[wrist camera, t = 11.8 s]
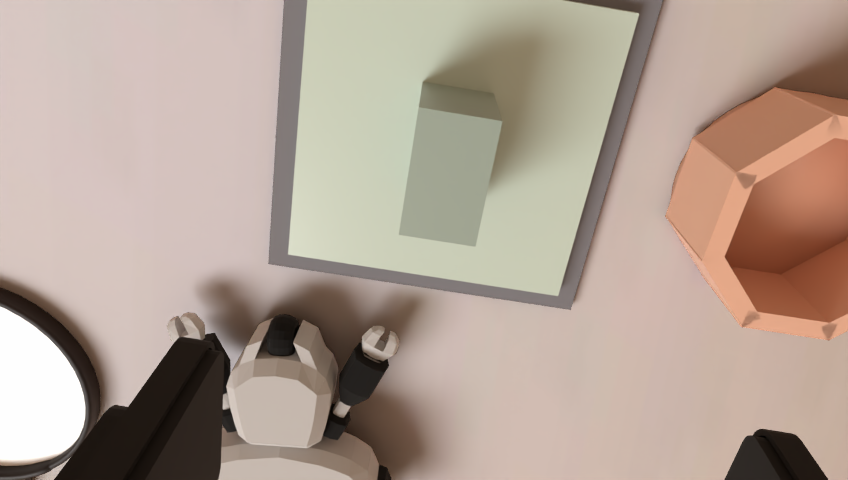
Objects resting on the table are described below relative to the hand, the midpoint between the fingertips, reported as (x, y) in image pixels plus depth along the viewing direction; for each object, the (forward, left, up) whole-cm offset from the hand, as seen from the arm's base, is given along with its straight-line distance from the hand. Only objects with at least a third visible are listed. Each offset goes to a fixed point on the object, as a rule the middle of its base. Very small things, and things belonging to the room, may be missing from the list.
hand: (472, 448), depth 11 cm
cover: (0, 0, -19) cm, 19 cm away
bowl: (-15, 0, -19) cm, 24 cm away
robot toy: (+6, +17, -20) cm, 27 cm away
